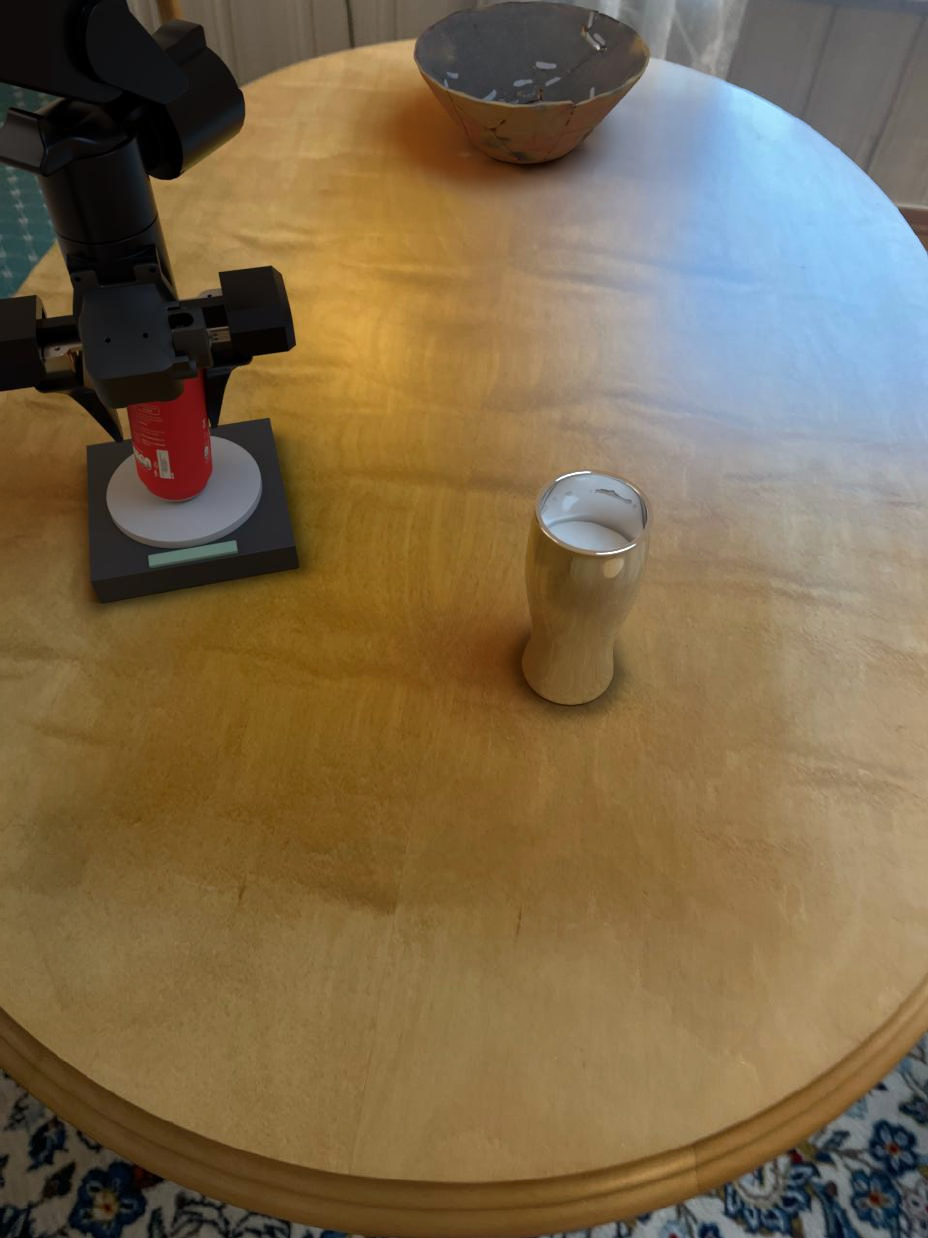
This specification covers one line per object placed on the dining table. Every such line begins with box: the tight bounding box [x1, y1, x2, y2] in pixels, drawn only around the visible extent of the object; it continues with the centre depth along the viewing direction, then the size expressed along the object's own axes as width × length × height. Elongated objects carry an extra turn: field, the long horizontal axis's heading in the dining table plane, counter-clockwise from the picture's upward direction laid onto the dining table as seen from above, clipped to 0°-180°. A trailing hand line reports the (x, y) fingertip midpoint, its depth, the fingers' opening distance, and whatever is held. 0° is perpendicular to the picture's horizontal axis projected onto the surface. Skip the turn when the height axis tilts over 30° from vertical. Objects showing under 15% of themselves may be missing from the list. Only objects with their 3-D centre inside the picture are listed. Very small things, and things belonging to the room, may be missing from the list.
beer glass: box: [521, 468, 655, 706], centre depth 59 cm, size 7×7×15 cm
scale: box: [85, 417, 300, 604], centre depth 72 cm, size 14×14×3 cm
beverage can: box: [126, 368, 213, 501], centre depth 65 cm, size 5×5×12 cm
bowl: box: [413, 0, 651, 165], centre depth 105 cm, size 25×25×10 cm
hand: (167, 432), depth 66 cm, fingers closed on beverage can, 6 cm apart
